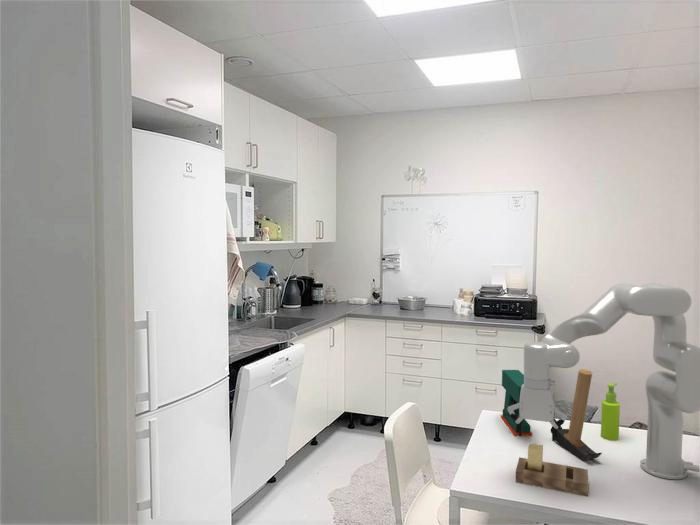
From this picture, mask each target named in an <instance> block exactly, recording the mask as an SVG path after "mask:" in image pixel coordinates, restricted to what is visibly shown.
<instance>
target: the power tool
mask: <svg viewBox="0 0 700 525" xmlns="http://www.w3.org/2000/svg"><path fill="white" fill-rule="evenodd" d="M523 384H524V373H522V372H521V371H520V370H519V369H502V370H501V386H502V387H503V389H504V390H505V394H504V404H503V405H504V406H503V408H502V414H501V415H500V419H501V420H502V422H503V423H504V424H505V425H506V426H507V428H508V429H509V431H510V432H511V433H512V435H513V436H514V437H519V433H517V423H516V422H515V421H514V420H513V419H512V417H511V415H510V414H509V412H508V410H507V408H508V407H509V406H512V405H514V404H517V403H520V392H521V386H522V385H523ZM513 411H514V413H515V414H516V415H517V416H519V408H518V409H515V410H513ZM521 437H533V433H532V431H531V425H530V424H529V422H528V421H527V419H523V420H522V436H521Z"/></svg>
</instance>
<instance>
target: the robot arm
mask: <svg viewBox="0 0 700 525" xmlns="http://www.w3.org/2000/svg"><path fill="white" fill-rule="evenodd" d="M691 306H692V298H691V296H690V294H689V292H688V291H686V290H685V289H684V288H681V287H677V286H671V285H666V284H660V283H659V284H658V283H649V282H648V283H644V284H642V285H634V284H629V283H622V282H621V283H616V284H615V285H613V286H611V287H610V288H609V289H608V290H607V291H606V292H605V293H603V294H602V295H601V296H600V297H599V298H598V299H597V300H596V301H595V302H593V303H592V305H590V306H589V307H588V308H587V309H585V310H584V311H583V312H582V313H580V314H579V313H578V314H577V315H574V316H573V317H571V318H569V319H566V320H564V321H562V322H561V323H559V324H557V325H556V326H555V327H554V328H552V329H551V330H550V331H548V333H547V334H546V335H545V336H544V337H543V338H542V339H541V341H528V342H526V343H525V344H524V346H523V375H524V384H523V385H522V386H521V392H520V403H517V404H514V405H512V406H509V407H508V408H507V410H508V412H509V414H510V415H511V417H512V419H513V420H514V421H515V422H516V423H517V433H519V436H518V437H519V438H521V437H523V436H522V420H523V419H525V420H531V421H538V422H545V423H549V424H551V428H552V433H551V441H552V442H556V441H555V438H557V429H558V427H560V426H561V427H562V426H563V425H564V424H565V421H566V420H567V419H568V413H567V412H565V411H562V409H560V408H558V407H557V406H556V402H555V394H554V393H555V392H554V389H553V388H554V387H553V386H555V385H556V380H553V379H551V368H559V369H560V368H561V369H569V368H574V367H575V366H576V365H577V364H578V363H579V361H580V358H581V356H580V352H579V350H578V348H576V347H575V346H574V345H573V344H572V343H573V342H575V341H577V340H579V339H581V338H585V337H591V336H599V335H603V334H606V333H608V331H610V329H611V328H612V327H614V326H615V325H616V324H617V323H619V321H620V320H621V319H622V318H624V317H625V316H626V315H627V314H628V313H629V314H632V315H635V316H636V315H638V316H645V317H646V316H647V317H652V319H653V322H654V323H653V324H654V325H653V326H654V327H653V328H654V333H653V346H652V349H653V350H652V358H653V361H654V363H656V364H657V365H658V366H659V367H661V368H664V369H666V370H668V371H666V370H665V371H664V370H657V371H654V372H652V373H650V374H649V375H648V377H647V378H646V380H645V386H644V387H645V395H646V398H647V399H646V400H647V426H646V427H647V428H646V429H647V432H646V454H645V456H646V457H645V458H642V459H641V460H640V463H639V464H640V465H639V466H640V467H641V469H642V470H643V471H645V472H646V473H648V474H650V475H653V476H655V477H659V478H662V479H668V480H682V479H685V478H687V474H688V471H691V472H696V473H700V465H696V464H694V463H693V462H692V461H685V460H683V458H682V457H683V456H682V452H683V434H684V432H683V431H684V430H683V429H684V414H683V413H686V414H695V413H698V412H699V411H700V347H698V346H697V345H694V344H690V343H688V341H687V321H686V317H685V313H688V311H689V310H690V308H691ZM669 371H671V372H669ZM672 372H674V373H672ZM518 408H519V416H517V415H516V414H515V413H514V411H513V410H515V409H518ZM556 414H557V415H558V416H560V418H559V419H558V420H557V419H556V418H555V415H556Z"/></svg>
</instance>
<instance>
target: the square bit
mask: <svg viewBox="0 0 700 525" xmlns="http://www.w3.org/2000/svg"><path fill="white" fill-rule="evenodd" d="M543 449H544V444H543V445H541V444H537V443H531V442H529V443H528V448H527V459H528V470H532V471H537V472H542V462H544V461H543V457H544V453H543V452H544V450H543Z"/></svg>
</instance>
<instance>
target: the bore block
mask: <svg viewBox="0 0 700 525" xmlns="http://www.w3.org/2000/svg"><path fill="white" fill-rule="evenodd" d="M515 483H519V484H523V483H524V484H525V485H528V484H529V486H533V485H535V486H534V487H538V486H540V487H539V488H543V487H544V488H543V489H548V488H550V489H549V490H553V489H554V491H560V492H564V493H570V494H575V495H580V496H585V497H589V469H587V468H581V467H575V466H571V465H570V466H569V465H566V464H559V463H554V462H549V461H543V462H542V472H537V471H532V470H528V458H526V457H520V456H519V458H518V460H517V465H516V469H515Z"/></svg>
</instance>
